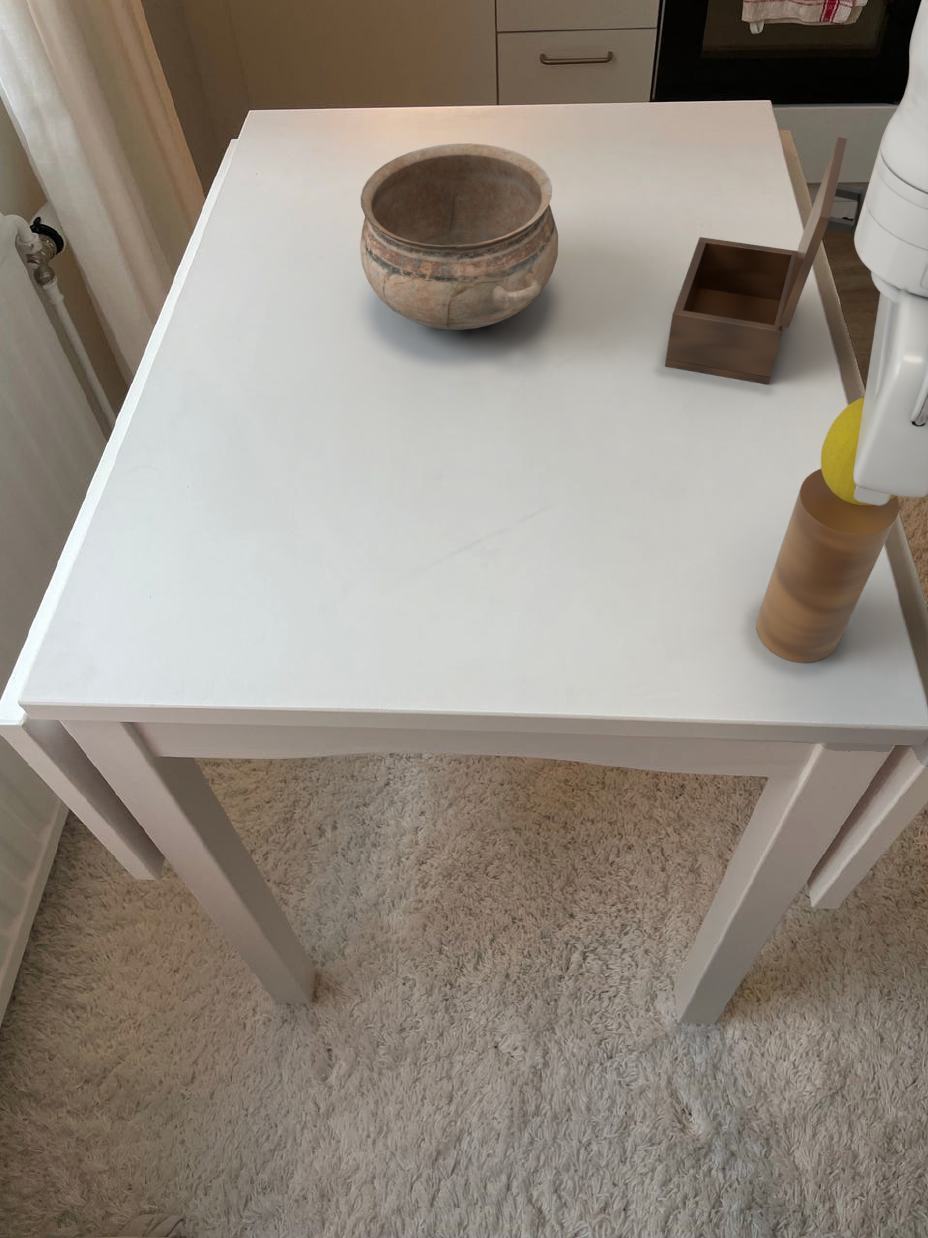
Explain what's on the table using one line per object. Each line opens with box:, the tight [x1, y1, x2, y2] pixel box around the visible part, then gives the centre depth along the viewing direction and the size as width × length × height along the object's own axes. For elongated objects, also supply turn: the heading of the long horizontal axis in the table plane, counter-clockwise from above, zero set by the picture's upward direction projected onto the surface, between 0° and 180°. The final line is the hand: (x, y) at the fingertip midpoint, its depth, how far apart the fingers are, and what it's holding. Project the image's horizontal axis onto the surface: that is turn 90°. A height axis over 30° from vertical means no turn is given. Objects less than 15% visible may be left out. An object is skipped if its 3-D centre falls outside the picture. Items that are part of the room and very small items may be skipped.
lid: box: [779, 136, 869, 329], centre depth 81 cm, size 10×13×5 cm
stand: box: [755, 468, 900, 664], centre depth 65 cm, size 6×6×14 cm
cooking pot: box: [359, 143, 559, 331], centre depth 92 cm, size 25×19×12 cm
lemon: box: [820, 396, 896, 505], centre depth 57 cm, size 6×6×8 cm
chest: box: [664, 236, 798, 385], centre depth 90 cm, size 10×13×6 cm
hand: (877, 438), depth 56 cm, fingers open, 8 cm apart
